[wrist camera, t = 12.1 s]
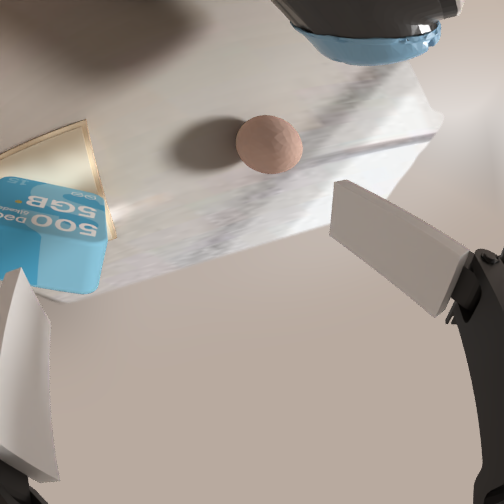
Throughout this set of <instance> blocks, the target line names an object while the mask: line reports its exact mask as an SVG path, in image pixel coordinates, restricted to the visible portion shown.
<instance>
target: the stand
mask: <svg viewBox="0 0 504 504" xmlns="http://www.w3.org/2000/svg"><path fill="white" fill-rule="evenodd" d="M8 176H13V177H19V178H24V179H29V180H34V181H39V182H44V183H48V184H53V185H58V186H62V187H67V188H72V189H76V190H81V191H85V192H90V193H94V194H96V195H99V196H100V197H102V198H103V199H104V202H105V214H106V225H107V235H108V241H110V240H113V239H116V238H117V235H116V230H115V227H114V224H113V220H112V217H111V214H110V211H109V208H108V204H107V201H106V198H105V194H104V191H103V187H102V183H101V180H100V176H99V172H98V168H97V165H96V161H95V157H94V152H93V148H92V144H91V140H90V135H89V130H88V126H87V121H86V119H85V120H82V121H79V122H76V123H73V124H70V125H68V126H65V127H62V128H59V129H57V130H54V131H52V132H49V133H47V134H44V135H42V136H39V137H37V138H34V139H32V140H30V141H27V142H25V143H23V144H21V145H19V146H16V147H14V148H12V149H10V150H8V151H6V152H4V153H2V154H0V179H1V178H3V177H8Z"/></svg>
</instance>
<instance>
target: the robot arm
mask: <svg viewBox="0 0 504 504" xmlns="http://www.w3.org/2000/svg"><path fill="white" fill-rule="evenodd" d="M271 1H272V2H273V3H274V4H275V5H276V6H277V7H278V8H279V9H280V10H281V11H282V12H283V13H284V15H285V16H286V17H287V18H288V19H289V20H290V23H291V25H292V26H293V27H294V28H295V30H297V31H298V32H300V33H302V34H303V35H304V36H305V37H306V38H307V39H308V40H309V41H310V42H311V43H312V44H313V45H314V46H315V48H316V49H317V50H318V51H319V52H320V53H322V54H323V55H324V56H326V57H328V58H329V59H331V60H334V61H338V62H344V63H346V64H349V65H358V66H376V65H386V64H392V63H397V62H401V61H405V60H409V59H412V58H414V57H417V56H419V55H421V54H423V53H425V52H427V51H428V47H429V46H434V45H435V44H436V43H437V42H438V41H439V39H440V36H441V32H440V30H441V24H440V22H439V20H442V19H446V18H450V17H454V16H458V15H460V13H461V11H462V8H463V4H464V1H465V0H271ZM329 235H330V236H331V237H332V238H334V239H335V240H336V241H338V242H339V243H340V244H342V245H343V246H344V247H346V248H347V249H348V250H350V251H351V252H352V253H354V254H355V255H356V256H358V257H359V258H360V259H362V260H363V261H364V262H366V263H367V264H368V265H369V266H371V267H372V268H374V269H375V270H376V271H377V272H378V273H380V274H381V275H382V276H384V277H385V278H386V279H387V280H389V281H390V282H391V283H392V284H394V285H395V286H396V287H398V288H399V289H400V290H401V291H402V292H404V293H405V294H406V295H407V296H409V297H410V298H411V299H412V300H413V301H415V302H416V303H417V304H418V305H420V306H421V307H422V308H423V309H424V310H425V311H427V312H428V313H429V314H430V315H431V316H433V317H434V318H435V317H437V316H438V315H439V314H440V313H442V312H443V311H444V310H445V308H446V306H447V304H448V302H449V300H450V298H452V299H454V300H455V302H454V303H453V306H452V308H451V310H450V312H449V314H448V316H447V318H446V324H448V323H449V321H450V319H451V317H452V316H454V318H453V320H452V322H451V324H457V325H458V328H459V332H460V336H461V339H462V343H463V347H464V350H465V354H466V358H467V363H468V366H469V371H470V376H471V380H472V385H473V390H474V395H475V401H476V407H477V413H478V420H479V428H480V437H481V447H482V459H483V464H482V469H481V471H480V473H479V474H478V476H477V478H476V480H475V483H474V495H473V496H474V497H473V504H504V248H503V251H502V253H501V255H500V256H497V255H495V254H494V253H492V252H490V251H488V250H485V249H478V250H476V251H475V254H474V253H472V252H470V250H469V249H468V248H466V247H465V246H463V245H462V244H460V243H458V242H457V241H456V240H454V239H452V238H451V237H449V236H448V235H446V234H444V233H443V232H441V231H439V230H438V229H436V228H435V227H433V226H431V225H430V224H428V223H426V222H425V221H423V220H421V219H419V218H418V217H416V216H414V215H412V214H411V213H409V212H407V211H405V210H404V209H402V208H400V207H398V206H396V205H395V204H393V203H391V202H389V201H387V200H386V199H384V198H382V197H380V196H378V195H376V194H374V193H372V192H370V191H368V190H366V189H364V188H362V187H360V186H359V185H357V184H354V183H352V182H350V181H348V180H342V181H337V182H334V191H333V203H332V214H331V224H330V233H329ZM50 331H51V322H50V320H49V318H48V317H47V315H46V313H45V311H44V310H43V308H42V306H41V304H40V303H39V301H38V299H37V297H36V295H35V293H34V291H33V289H32V288H31V286H30V284H29V282H28V280H27V278H26V276H25V274H24V272H23V269H22V267H20V268H18V269H15V270H12V271H9V272H7V273H5V276H4V279H3V282H2V285H1V288H0V504H48V503H47V502H46V501H45V500H44V499H43V498H42V497H41V496H40V495H39V493H38V492H37V491H36V490H35V489H33V488H32V487H31V486H29V483H28V477H30V478H31V479H33V480H35V481H37V482H39V483H44V482H55V481H60V478H59V473H58V467H57V461H56V455H55V448H54V439H53V430H52V420H51V406H50V380H49V359H50V356H49V355H50Z"/></svg>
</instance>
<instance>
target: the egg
mask: <svg viewBox="0 0 504 504" xmlns="http://www.w3.org/2000/svg"><path fill="white" fill-rule="evenodd" d="M236 149H237V152H238V154H239V156H240V158H241V160H242V161H243V162H244V163H245V164H246V165H247V166H249V167H250V168H252V169H254V170H256V171H259V172H261V173H266V174H276V173H281V172H285V171H287V170H290V169H291V168H292V167H294V166H295V165H296V164H297V163H298V162H299V160H300V158H301V155H302V150H303V146H302V142H301V139H300V136H299V134H298V133H297V131H296V130H295V129H294V127H293V126H292V125H291V124H290V123H288V122H286V121H285V120H283V119H281V118H278V117H275V116H268V115H263V116H257V117H253V118H252V119H250V120H248V121H246V122H245V123H244V124H243V125H242V126H241V128H240V129H239V131H238V133H237V137H236Z"/></svg>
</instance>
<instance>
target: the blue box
mask: <svg viewBox="0 0 504 504" xmlns="http://www.w3.org/2000/svg"><path fill="white" fill-rule="evenodd" d="M107 242H108V235H107V225H106V214H105V202H104V199H103V198H102V197H100V196H99V195H96V194H94V193H90V192H85V191H81V190H76V189H72V188H67V187H62V186H58V185H53V184H48V183H44V182H39V181H34V180H29V179H24V178H19V177H13V176H8V177H3V178H1V179H0V280H1V281H3V279H4V276H5V273H7V272H9V271H12V270H15V269H18V268H20V267H22V269H23V272H24V274H25V276H26V278H27V280H28V282H29V284H30V286H33V287H39V288H45V289H51V290H57V291H63V292H70V293H76V294H89V293H92V292H94V291H95V290H96V289H97V288H98V285H99V280H100V274H101V269H102V265H103V260H104V255H105V251H106V246H107Z"/></svg>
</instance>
